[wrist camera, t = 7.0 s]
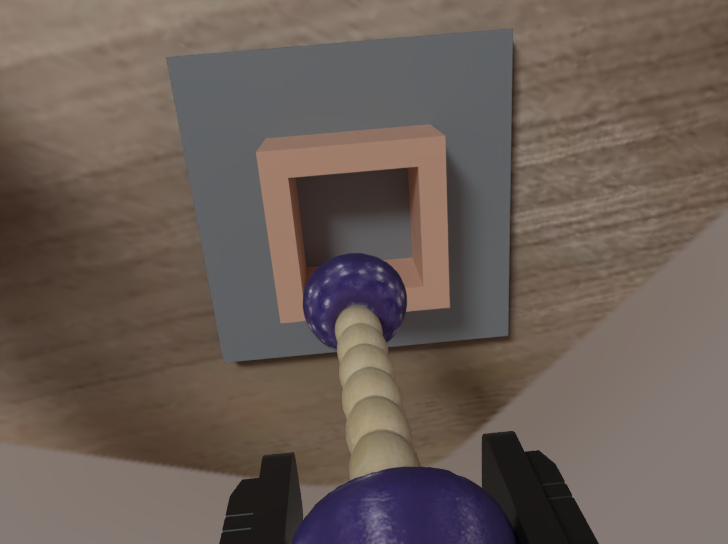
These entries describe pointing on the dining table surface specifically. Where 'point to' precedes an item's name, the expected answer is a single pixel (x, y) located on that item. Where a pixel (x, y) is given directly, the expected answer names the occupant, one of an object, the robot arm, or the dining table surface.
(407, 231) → the socket block
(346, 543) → the toy lamp
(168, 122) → the dining table surface
